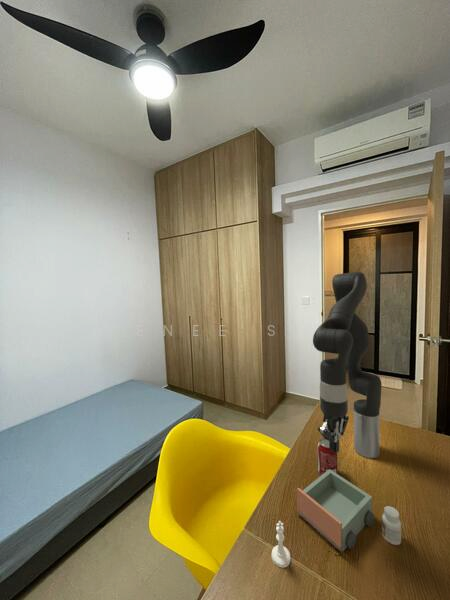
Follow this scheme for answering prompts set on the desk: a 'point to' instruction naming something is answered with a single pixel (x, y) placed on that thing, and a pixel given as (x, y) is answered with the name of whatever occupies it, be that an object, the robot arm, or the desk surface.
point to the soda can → (326, 457)
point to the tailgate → (320, 518)
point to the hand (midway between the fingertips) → (334, 451)
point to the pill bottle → (391, 525)
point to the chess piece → (280, 549)
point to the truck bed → (343, 504)
